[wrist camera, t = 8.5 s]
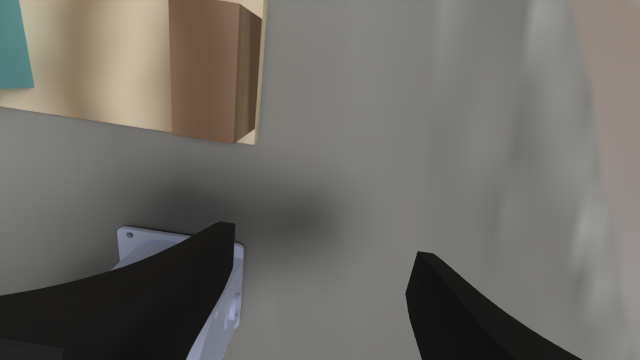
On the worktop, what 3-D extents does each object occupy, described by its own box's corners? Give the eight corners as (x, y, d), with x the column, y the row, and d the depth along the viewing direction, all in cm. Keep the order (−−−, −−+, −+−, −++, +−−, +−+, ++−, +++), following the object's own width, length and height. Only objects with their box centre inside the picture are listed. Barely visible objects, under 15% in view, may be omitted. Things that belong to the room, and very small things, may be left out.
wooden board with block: (267, 2, 17) (240, -25, 12) (257, 141, 20) (232, 163, 15) (-84, -51, 17) (-246, -98, 12) (-45, 95, 20) (-165, 103, 15)
